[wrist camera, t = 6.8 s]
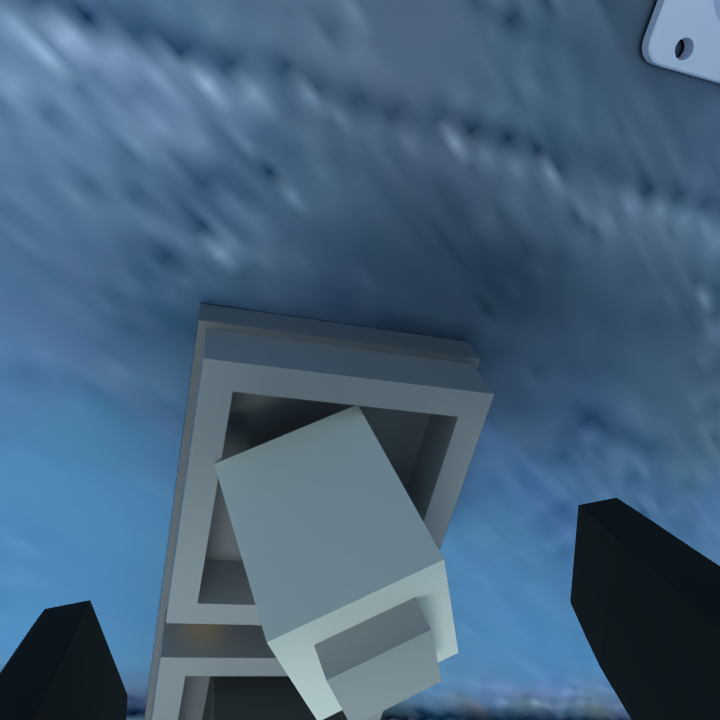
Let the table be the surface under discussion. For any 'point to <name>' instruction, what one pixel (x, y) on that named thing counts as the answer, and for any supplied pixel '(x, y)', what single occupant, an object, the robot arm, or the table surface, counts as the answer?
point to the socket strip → (274, 419)
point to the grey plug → (340, 567)
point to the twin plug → (256, 699)
